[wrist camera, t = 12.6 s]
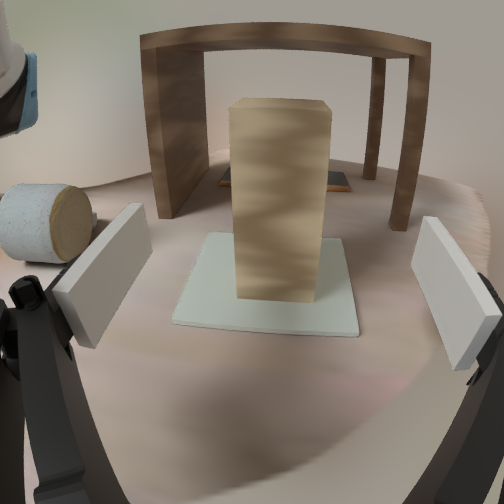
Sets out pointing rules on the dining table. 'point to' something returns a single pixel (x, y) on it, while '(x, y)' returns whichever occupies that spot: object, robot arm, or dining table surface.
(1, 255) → the dining table surface
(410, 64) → the small wooden table
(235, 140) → the maple block
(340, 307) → the pad
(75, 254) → the ceramic mug
